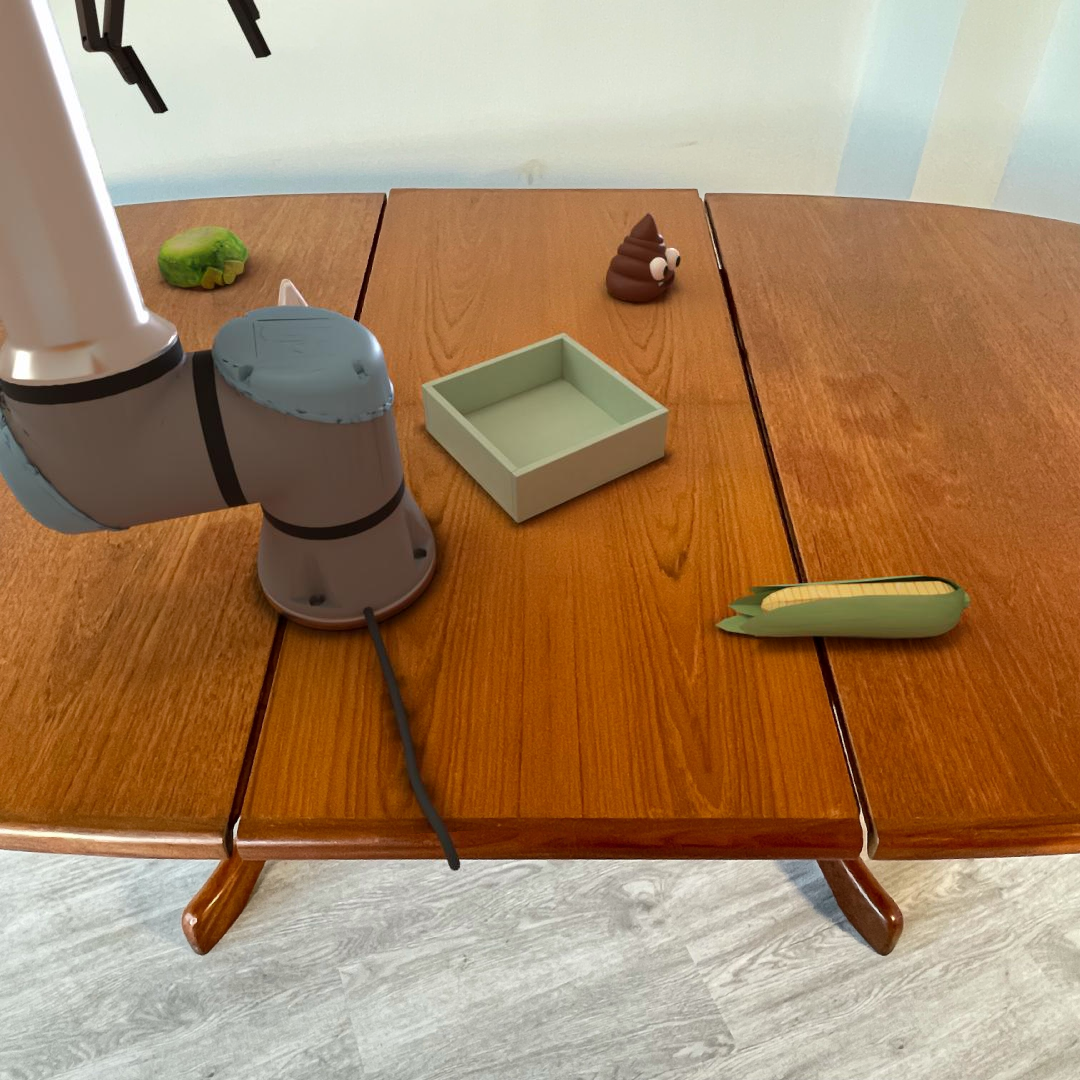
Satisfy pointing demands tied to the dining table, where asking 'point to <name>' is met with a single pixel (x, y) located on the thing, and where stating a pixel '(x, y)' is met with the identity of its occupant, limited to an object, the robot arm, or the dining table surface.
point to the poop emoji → (642, 264)
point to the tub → (544, 424)
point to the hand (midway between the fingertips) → (214, 83)
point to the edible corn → (851, 608)
